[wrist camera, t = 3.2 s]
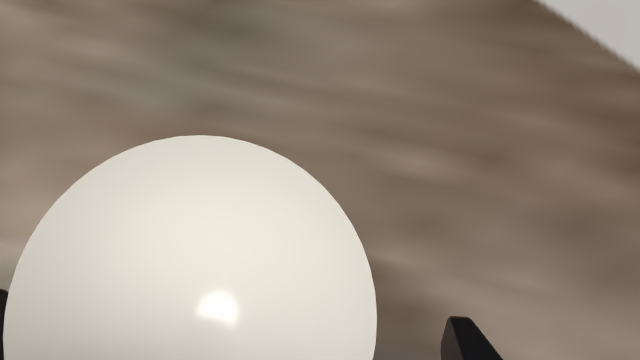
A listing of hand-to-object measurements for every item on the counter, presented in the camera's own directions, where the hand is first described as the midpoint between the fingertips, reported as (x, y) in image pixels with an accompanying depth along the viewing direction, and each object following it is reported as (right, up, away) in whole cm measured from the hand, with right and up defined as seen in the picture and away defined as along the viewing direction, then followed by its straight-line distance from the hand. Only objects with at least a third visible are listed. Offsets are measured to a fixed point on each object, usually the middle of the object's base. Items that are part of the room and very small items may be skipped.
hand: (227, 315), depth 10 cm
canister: (0, -1, +8) cm, 8 cm away
